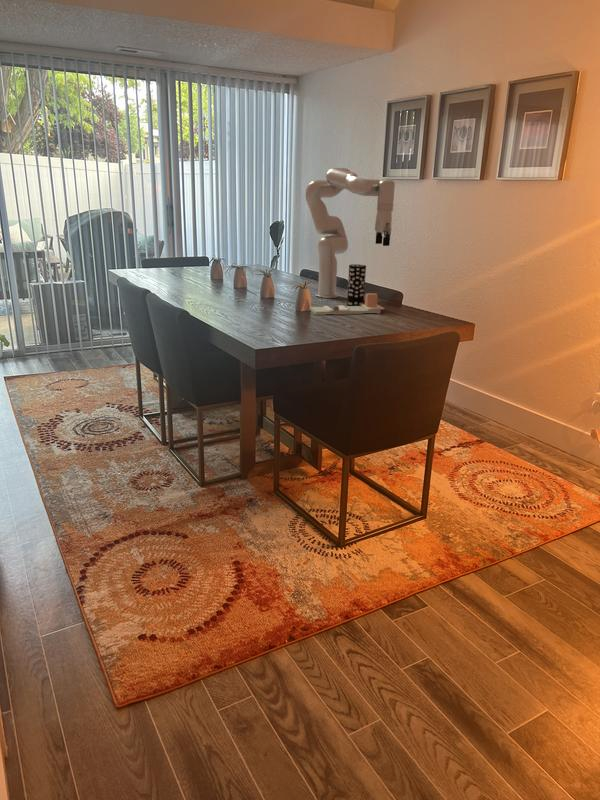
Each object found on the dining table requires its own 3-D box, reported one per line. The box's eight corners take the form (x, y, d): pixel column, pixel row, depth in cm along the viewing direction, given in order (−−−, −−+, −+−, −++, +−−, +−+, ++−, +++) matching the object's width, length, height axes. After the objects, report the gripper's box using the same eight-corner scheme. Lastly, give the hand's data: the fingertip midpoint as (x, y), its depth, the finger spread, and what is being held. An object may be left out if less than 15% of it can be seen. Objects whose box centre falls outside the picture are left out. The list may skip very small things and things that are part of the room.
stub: (361, 305, 294) (362, 292, 292) (376, 305, 296) (377, 291, 294) (368, 309, 285) (369, 295, 283) (384, 309, 287) (385, 295, 285)
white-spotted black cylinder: (347, 307, 299) (349, 266, 292) (346, 303, 307) (348, 264, 300) (364, 307, 299) (366, 266, 292) (362, 304, 307) (365, 264, 300)
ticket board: (309, 310, 289) (309, 302, 288) (371, 308, 297) (372, 301, 296) (316, 315, 278) (316, 307, 277) (380, 313, 286) (381, 305, 285)
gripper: (371, 206, 294) (368, 242, 299) (384, 208, 278) (381, 246, 284) (385, 207, 295) (382, 243, 301) (399, 208, 280) (396, 246, 285)
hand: (382, 244), depth 292 cm, fingers open, 9 cm apart
